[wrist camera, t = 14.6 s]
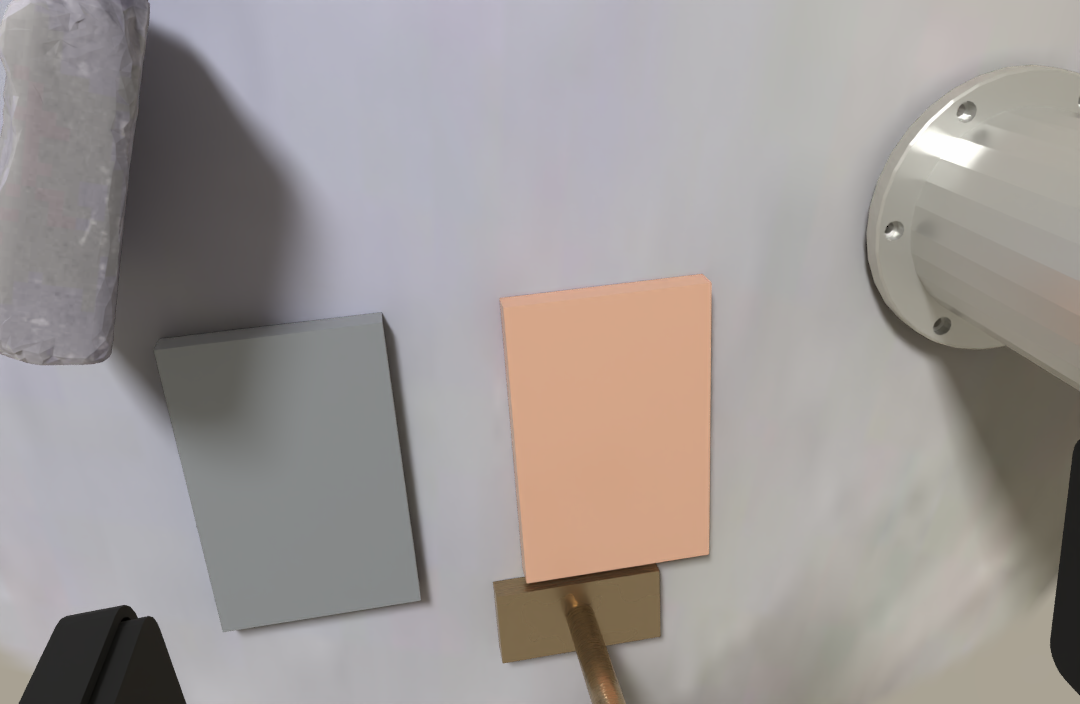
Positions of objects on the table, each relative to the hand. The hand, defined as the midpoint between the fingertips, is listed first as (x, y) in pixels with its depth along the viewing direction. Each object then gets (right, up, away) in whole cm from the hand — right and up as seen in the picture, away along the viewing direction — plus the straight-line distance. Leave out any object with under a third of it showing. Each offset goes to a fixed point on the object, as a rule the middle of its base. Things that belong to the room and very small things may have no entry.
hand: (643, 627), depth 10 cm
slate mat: (-12, -3, +33) cm, 35 cm away
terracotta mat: (+2, -1, +34) cm, 35 cm away
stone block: (-17, +11, +26) cm, 33 cm away
